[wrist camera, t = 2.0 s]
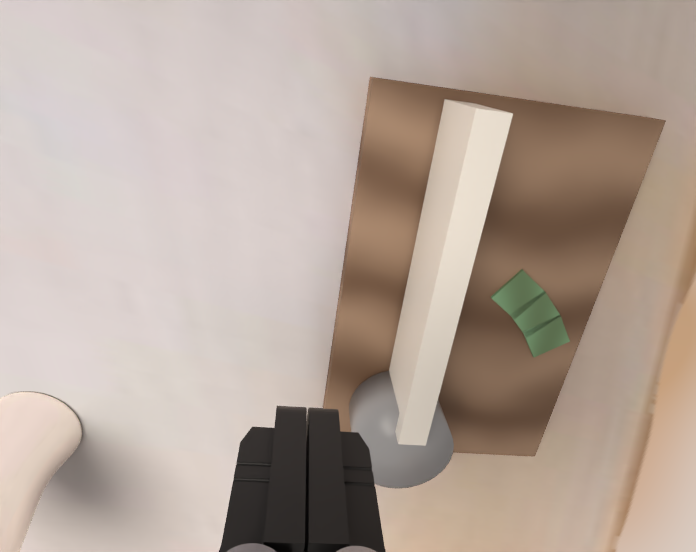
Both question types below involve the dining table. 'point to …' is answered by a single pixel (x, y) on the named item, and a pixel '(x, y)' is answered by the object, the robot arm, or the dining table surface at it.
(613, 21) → the dining table surface
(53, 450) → the beer glass
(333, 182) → the dining table surface
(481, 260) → the brown wooden board
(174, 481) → the dining table surface
